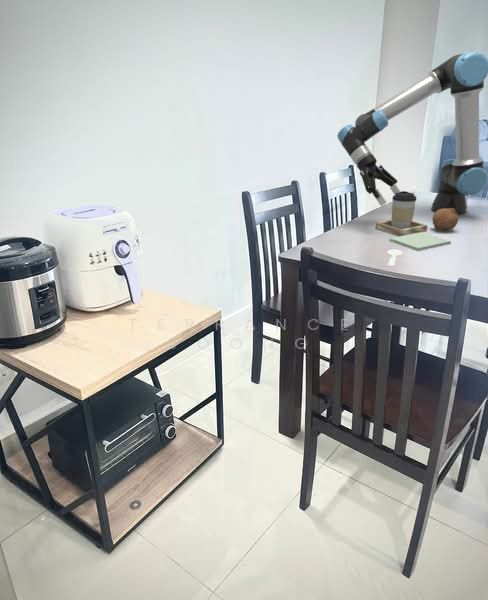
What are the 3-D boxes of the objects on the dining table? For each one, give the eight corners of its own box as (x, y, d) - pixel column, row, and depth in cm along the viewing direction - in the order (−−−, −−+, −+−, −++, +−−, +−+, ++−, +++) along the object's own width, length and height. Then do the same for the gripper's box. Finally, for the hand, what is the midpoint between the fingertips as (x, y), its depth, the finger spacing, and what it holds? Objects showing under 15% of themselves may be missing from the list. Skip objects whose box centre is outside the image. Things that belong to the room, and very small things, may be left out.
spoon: (381, 266, 142) (382, 264, 142) (388, 249, 157) (388, 248, 157) (399, 268, 140) (399, 266, 140) (404, 251, 155) (404, 249, 155)
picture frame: (401, 223, 187) (401, 218, 186) (426, 231, 175) (427, 225, 174) (375, 228, 182) (375, 222, 180) (399, 236, 170) (400, 230, 169)
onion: (451, 237, 178) (466, 215, 174) (443, 235, 171) (459, 213, 166) (431, 224, 183) (446, 203, 178) (423, 223, 176) (438, 201, 171)
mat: (421, 234, 172) (421, 232, 171) (450, 243, 160) (450, 241, 160) (389, 240, 166) (389, 238, 165) (417, 250, 154) (418, 248, 154)
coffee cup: (413, 233, 174) (418, 195, 167) (389, 232, 175) (394, 195, 169) (410, 227, 182) (415, 190, 175) (387, 226, 183) (391, 190, 177)
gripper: (374, 162, 190) (401, 201, 187) (340, 169, 175) (369, 212, 171) (386, 150, 184) (415, 190, 181) (352, 156, 169) (383, 200, 165)
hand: (393, 201), depth 176 cm, fingers open, 13 cm apart
